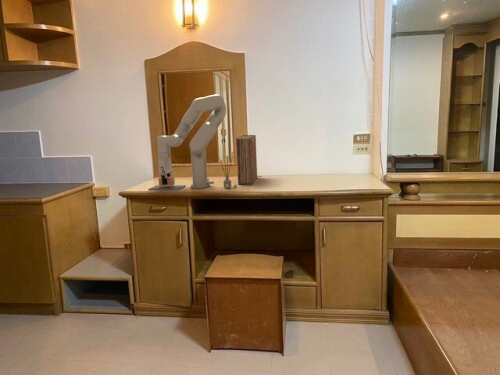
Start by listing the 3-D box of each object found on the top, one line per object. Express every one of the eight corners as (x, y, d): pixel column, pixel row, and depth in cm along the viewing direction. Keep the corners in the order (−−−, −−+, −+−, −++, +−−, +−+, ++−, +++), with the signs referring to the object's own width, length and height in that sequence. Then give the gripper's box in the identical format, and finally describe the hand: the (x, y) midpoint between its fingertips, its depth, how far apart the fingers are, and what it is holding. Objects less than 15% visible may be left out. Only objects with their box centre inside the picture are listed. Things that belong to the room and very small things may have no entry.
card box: (162, 184, 251) (161, 176, 250) (174, 184, 250) (174, 176, 249) (159, 186, 246) (158, 178, 245) (172, 185, 245) (171, 177, 244)
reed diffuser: (220, 189, 238) (218, 156, 235) (221, 187, 245) (219, 155, 241) (236, 188, 238) (235, 155, 235) (237, 186, 245) (235, 154, 241)
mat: (185, 186, 252) (185, 185, 252) (178, 190, 240) (178, 189, 240) (156, 186, 256) (156, 185, 256) (148, 190, 245) (148, 189, 245)
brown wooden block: (252, 184, 249) (250, 137, 244) (237, 184, 251) (235, 137, 245) (257, 177, 274) (255, 134, 268) (244, 178, 275) (242, 135, 270)
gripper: (164, 153, 253) (167, 181, 257) (152, 157, 237) (155, 186, 240) (175, 153, 252) (177, 181, 255) (164, 156, 235) (166, 186, 239)
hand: (166, 183), depth 248 cm, fingers closed on card box, 5 cm apart
